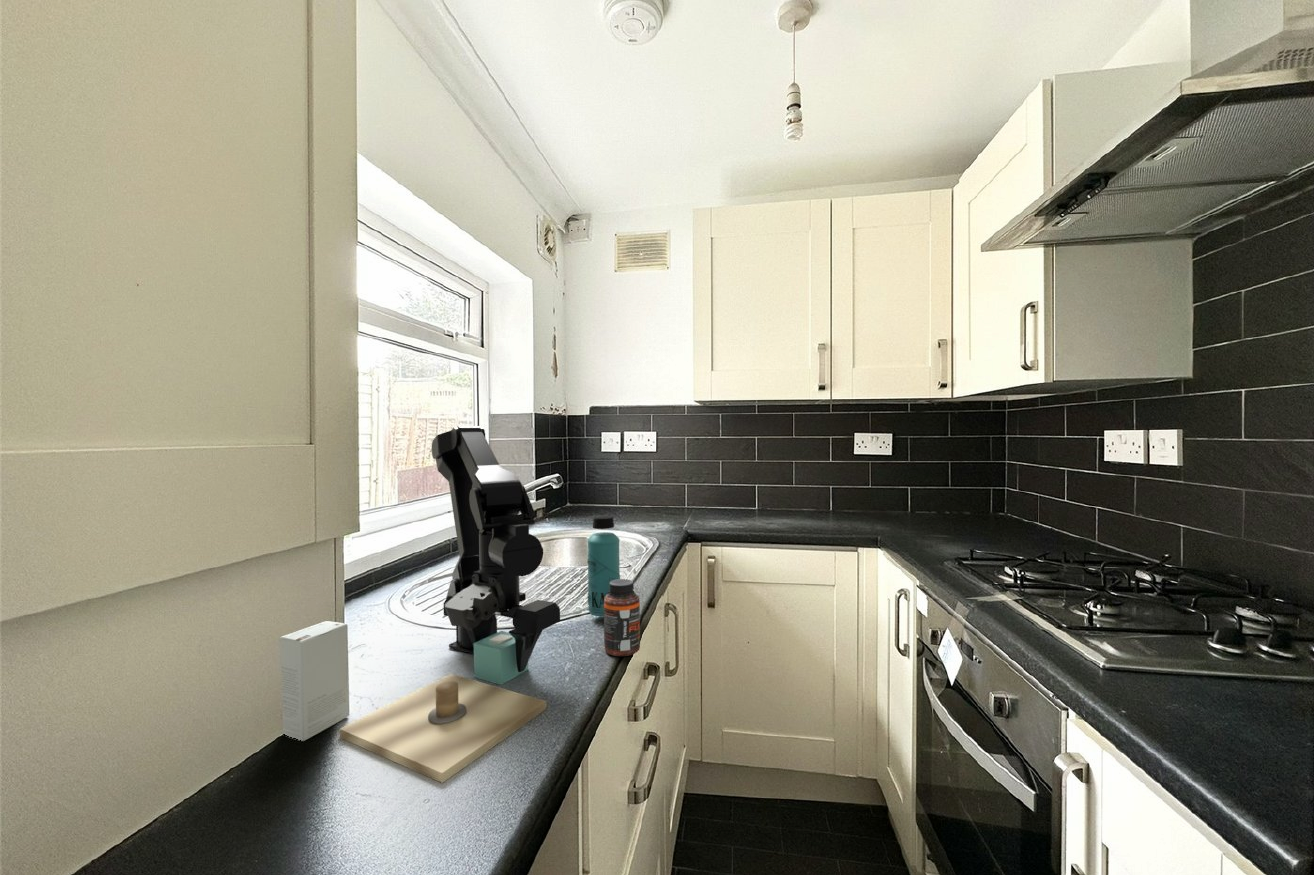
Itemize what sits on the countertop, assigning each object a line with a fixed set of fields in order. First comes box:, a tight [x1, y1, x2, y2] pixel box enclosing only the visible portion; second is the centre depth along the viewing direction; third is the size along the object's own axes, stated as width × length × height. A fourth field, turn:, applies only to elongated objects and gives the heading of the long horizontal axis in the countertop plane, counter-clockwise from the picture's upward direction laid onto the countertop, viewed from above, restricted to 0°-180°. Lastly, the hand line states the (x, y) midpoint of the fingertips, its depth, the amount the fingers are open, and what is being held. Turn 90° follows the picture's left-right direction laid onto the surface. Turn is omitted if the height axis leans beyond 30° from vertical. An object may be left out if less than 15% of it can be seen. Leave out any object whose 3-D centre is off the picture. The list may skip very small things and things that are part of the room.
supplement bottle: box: [603, 578, 641, 657], centre depth 84 cm, size 6×6×11 cm
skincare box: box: [278, 620, 350, 742], centre depth 63 cm, size 6×4×12 cm
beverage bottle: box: [586, 515, 621, 617], centre depth 99 cm, size 6×7×20 cm
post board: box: [339, 673, 547, 784], centre depth 64 cm, size 18×16×4 cm
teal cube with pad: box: [473, 630, 529, 686], centre depth 77 cm, size 6×6×5 cm
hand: (501, 666), depth 77 cm, fingers open, 8 cm apart
